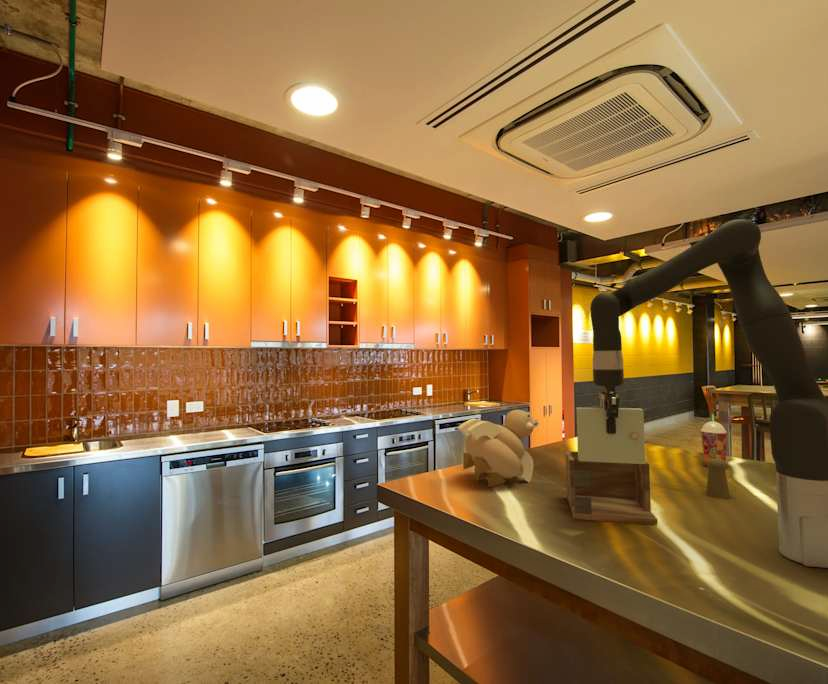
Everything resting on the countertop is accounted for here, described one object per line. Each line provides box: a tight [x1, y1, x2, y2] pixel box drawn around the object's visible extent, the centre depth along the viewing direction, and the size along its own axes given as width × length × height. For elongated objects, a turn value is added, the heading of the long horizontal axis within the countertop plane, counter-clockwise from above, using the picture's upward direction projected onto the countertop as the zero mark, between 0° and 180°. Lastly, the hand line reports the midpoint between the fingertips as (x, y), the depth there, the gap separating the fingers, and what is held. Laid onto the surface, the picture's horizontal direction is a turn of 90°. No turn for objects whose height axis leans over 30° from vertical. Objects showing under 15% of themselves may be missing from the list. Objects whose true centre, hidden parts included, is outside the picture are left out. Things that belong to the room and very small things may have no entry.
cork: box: [705, 458, 731, 499], centre depth 130 cm, size 6×6×11 cm
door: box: [576, 406, 646, 464], centre depth 113 cm, size 4×16×14 cm, turn 76°
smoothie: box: [700, 413, 728, 467], centre depth 164 cm, size 8×8×20 cm
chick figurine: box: [457, 409, 539, 488], centre depth 147 cm, size 30×28×23 cm
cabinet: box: [564, 450, 658, 525], centre depth 118 cm, size 18×20×14 cm
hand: (609, 432), depth 114 cm, fingers closed on door, 3 cm apart
